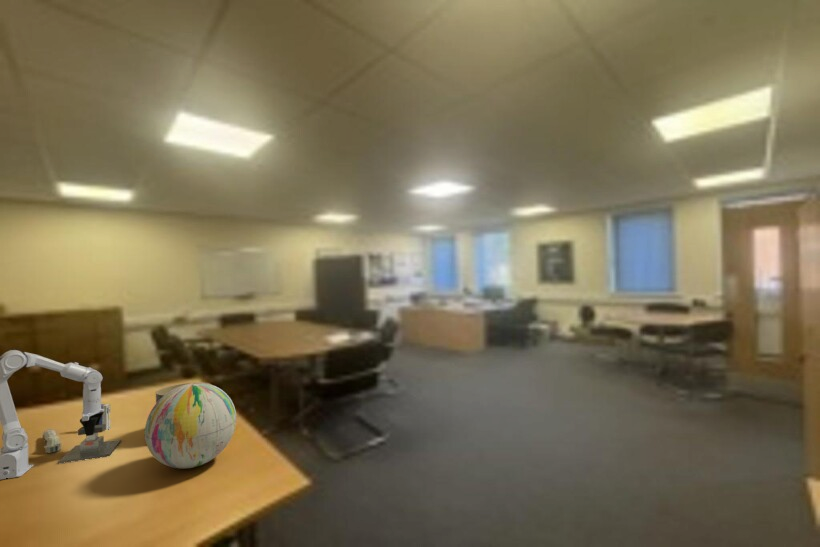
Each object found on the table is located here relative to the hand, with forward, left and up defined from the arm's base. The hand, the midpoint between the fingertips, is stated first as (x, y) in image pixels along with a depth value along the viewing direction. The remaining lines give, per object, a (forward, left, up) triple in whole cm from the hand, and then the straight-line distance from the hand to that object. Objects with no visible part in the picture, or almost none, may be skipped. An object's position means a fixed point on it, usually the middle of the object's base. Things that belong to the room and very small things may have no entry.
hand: (91, 433), depth 161 cm
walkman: (+29, +6, -8) cm, 31 cm away
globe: (-30, -40, -8) cm, 51 cm away
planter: (+8, -32, -8) cm, 34 cm away
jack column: (0, 0, -5) cm, 5 cm away
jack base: (0, 0, -8) cm, 8 cm away
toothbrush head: (+17, +19, -8) cm, 27 cm away
